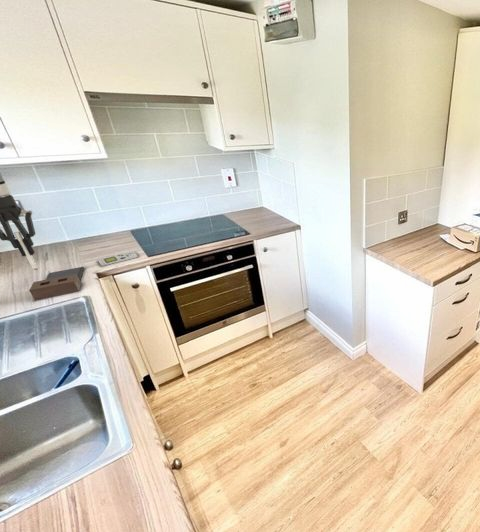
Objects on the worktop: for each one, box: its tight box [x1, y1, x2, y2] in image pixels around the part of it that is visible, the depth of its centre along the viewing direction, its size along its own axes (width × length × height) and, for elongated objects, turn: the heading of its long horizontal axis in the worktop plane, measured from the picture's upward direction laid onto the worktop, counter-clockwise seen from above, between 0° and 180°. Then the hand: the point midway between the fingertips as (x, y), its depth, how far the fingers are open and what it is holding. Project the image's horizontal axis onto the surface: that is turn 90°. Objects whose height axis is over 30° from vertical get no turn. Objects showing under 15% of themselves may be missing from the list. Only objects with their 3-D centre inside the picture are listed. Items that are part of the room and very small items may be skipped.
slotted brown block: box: [28, 274, 82, 301], centre depth 136 cm, size 8×13×5 cm, turn 126°
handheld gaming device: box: [97, 251, 139, 267], centre depth 166 cm, size 9×1×15 cm
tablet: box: [45, 266, 85, 281], centre depth 147 cm, size 12×16×1 cm
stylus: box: [13, 231, 39, 271], centre depth 127 cm, size 2×2×16 cm
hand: (28, 254), depth 128 cm, fingers closed on stylus, 1 cm apart
